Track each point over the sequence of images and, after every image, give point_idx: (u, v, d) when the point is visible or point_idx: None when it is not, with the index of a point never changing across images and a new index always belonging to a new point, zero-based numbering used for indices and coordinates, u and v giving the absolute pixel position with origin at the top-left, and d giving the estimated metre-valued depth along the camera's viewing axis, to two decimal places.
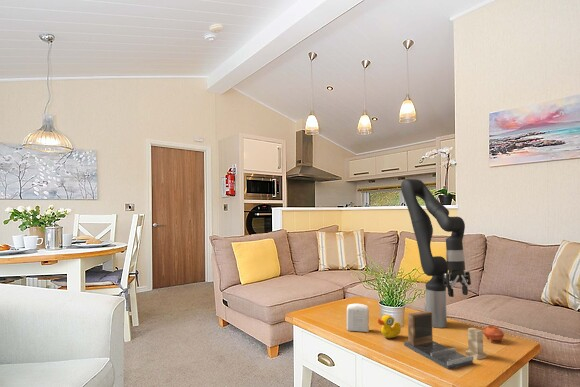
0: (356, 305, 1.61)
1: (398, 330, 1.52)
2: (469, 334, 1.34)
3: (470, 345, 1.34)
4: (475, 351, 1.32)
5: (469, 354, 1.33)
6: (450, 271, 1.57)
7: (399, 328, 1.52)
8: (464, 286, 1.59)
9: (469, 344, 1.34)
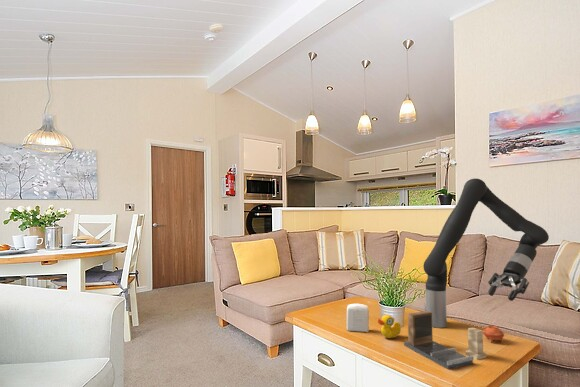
0: (356, 305, 1.61)
1: (398, 330, 1.52)
2: (469, 334, 1.34)
3: (470, 345, 1.34)
4: (475, 351, 1.32)
5: (469, 354, 1.33)
6: (521, 277, 1.39)
7: (399, 328, 1.52)
8: (495, 287, 1.44)
9: (469, 344, 1.34)
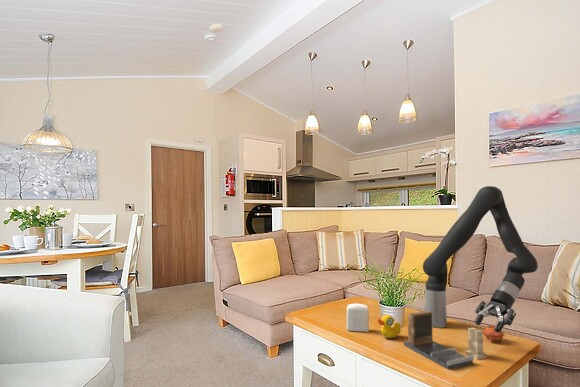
0: (356, 305, 1.61)
1: (398, 330, 1.52)
2: (469, 334, 1.34)
3: (470, 345, 1.34)
4: (475, 351, 1.32)
5: (469, 354, 1.33)
6: (508, 307, 1.36)
7: (399, 328, 1.52)
8: (482, 317, 1.41)
9: (469, 344, 1.34)
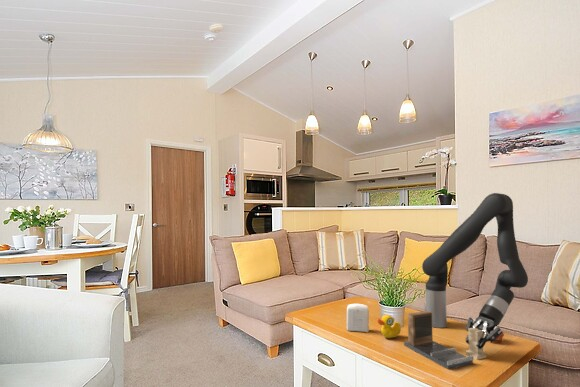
0: (356, 305, 1.61)
1: (398, 330, 1.52)
2: (469, 334, 1.34)
3: (470, 345, 1.34)
4: (475, 351, 1.32)
5: (469, 354, 1.33)
6: (496, 323, 1.33)
7: (399, 328, 1.52)
8: None
9: (469, 344, 1.34)
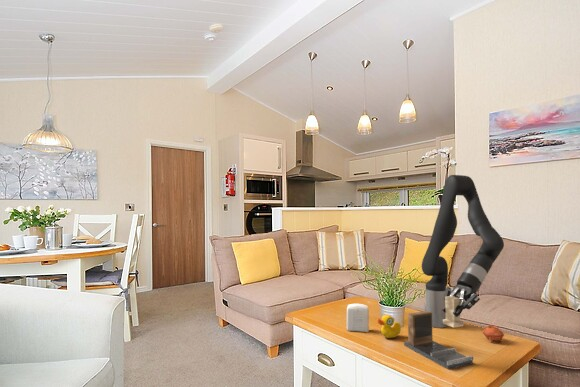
0: (356, 305, 1.61)
1: (398, 330, 1.52)
2: (446, 302, 1.30)
3: (447, 313, 1.29)
4: (452, 319, 1.27)
5: (446, 323, 1.28)
6: (474, 290, 1.28)
7: (399, 328, 1.52)
8: None
9: (446, 313, 1.30)
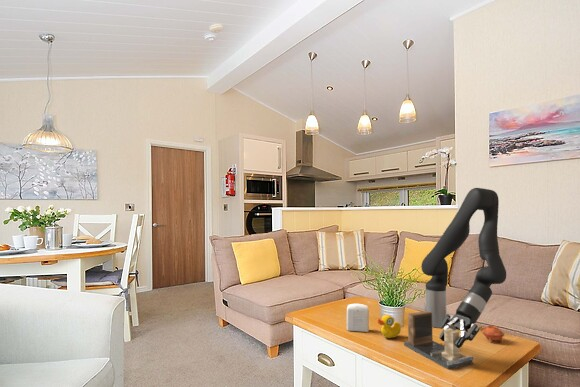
0: (356, 305, 1.61)
1: (398, 330, 1.52)
2: (445, 335, 1.29)
3: (446, 347, 1.29)
4: (451, 353, 1.27)
5: (445, 356, 1.28)
6: (473, 321, 1.28)
7: (399, 328, 1.52)
8: None
9: (445, 346, 1.29)
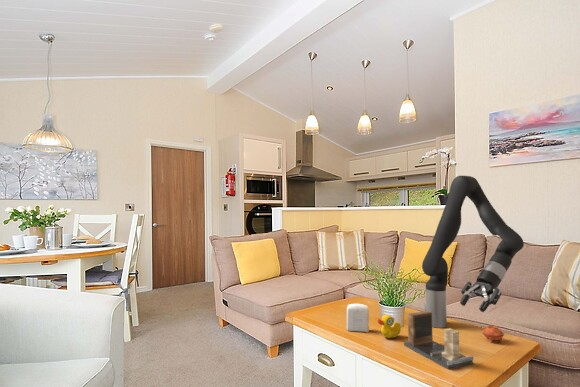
0: (356, 305, 1.61)
1: (398, 330, 1.52)
2: (445, 335, 1.29)
3: (446, 347, 1.29)
4: (451, 353, 1.27)
5: (445, 356, 1.28)
6: (494, 287, 1.33)
7: (399, 328, 1.52)
8: (467, 297, 1.38)
9: (445, 346, 1.29)
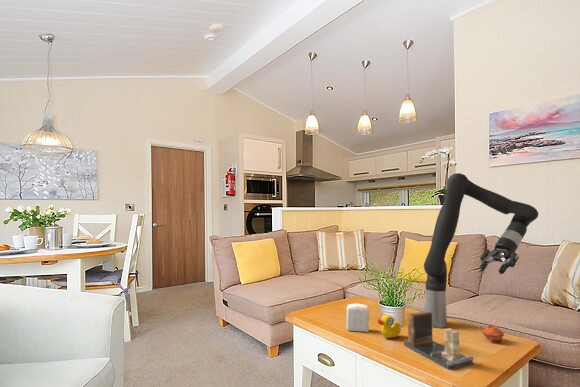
0: (356, 305, 1.61)
1: (398, 330, 1.52)
2: (445, 335, 1.29)
3: (446, 347, 1.29)
4: (451, 353, 1.27)
5: (445, 356, 1.28)
6: (511, 252, 1.45)
7: (399, 328, 1.52)
8: (486, 263, 1.50)
9: (445, 346, 1.29)
